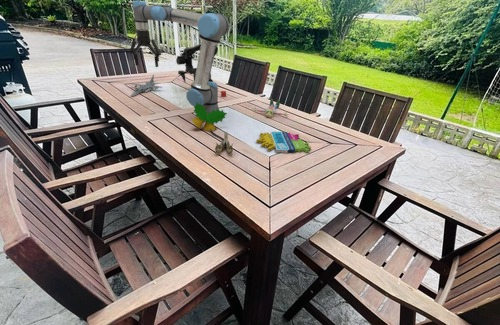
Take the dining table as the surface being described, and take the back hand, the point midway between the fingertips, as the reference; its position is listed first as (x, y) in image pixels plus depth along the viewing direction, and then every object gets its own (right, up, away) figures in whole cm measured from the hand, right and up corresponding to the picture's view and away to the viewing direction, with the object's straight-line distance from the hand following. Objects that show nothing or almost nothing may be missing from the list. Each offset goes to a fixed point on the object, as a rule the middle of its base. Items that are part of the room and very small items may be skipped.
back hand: (189, 82), depth 235 cm
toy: (+71, -34, -34) cm, 86 cm away
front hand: (-14, -8, -62) cm, 64 cm away
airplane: (-38, -9, -4) cm, 39 cm away
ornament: (+29, -51, -70) cm, 92 cm away
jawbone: (+41, -67, -96) cm, 124 cm away
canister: (+31, -14, -3) cm, 34 cm away
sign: (+73, -61, -82) cm, 126 cm away
